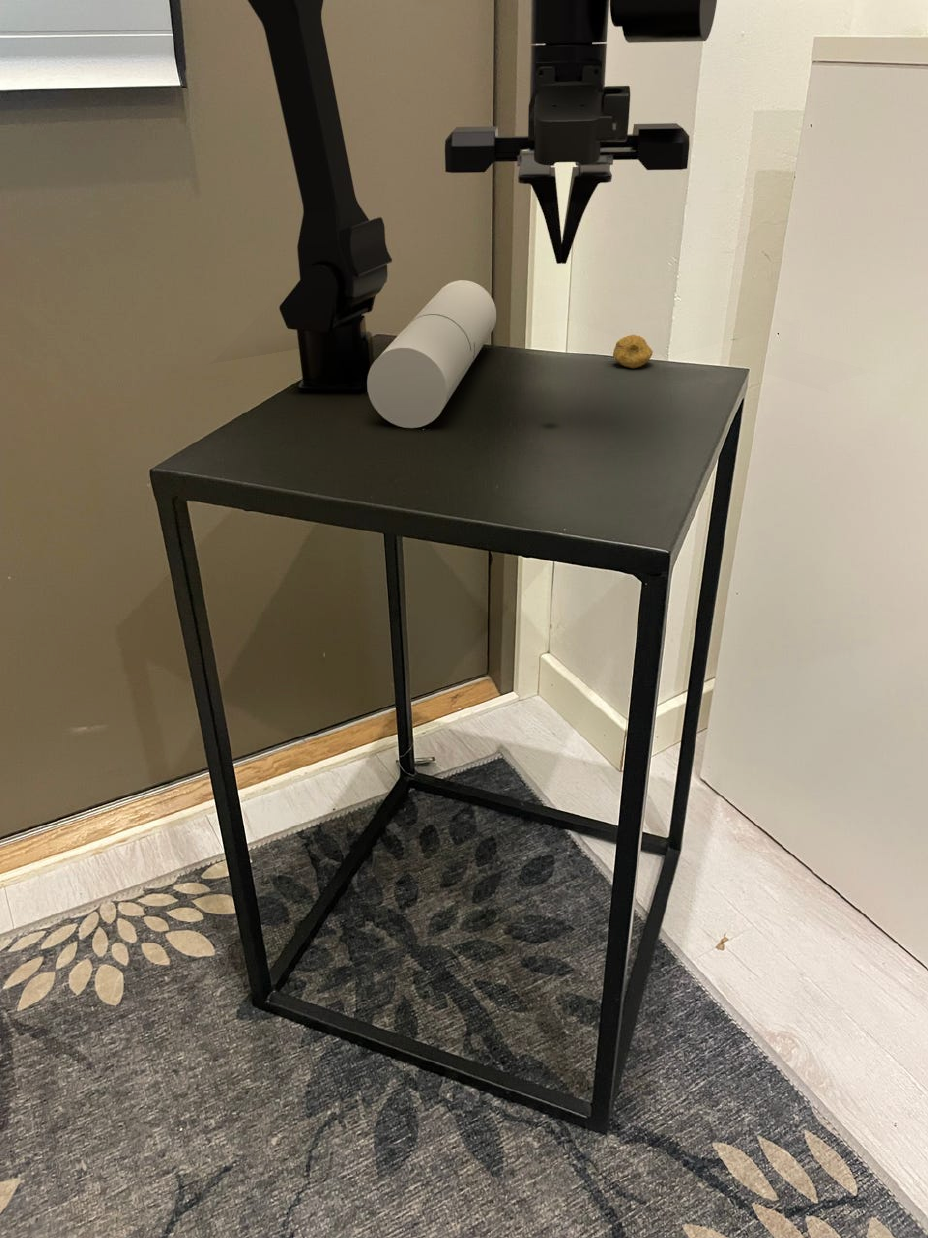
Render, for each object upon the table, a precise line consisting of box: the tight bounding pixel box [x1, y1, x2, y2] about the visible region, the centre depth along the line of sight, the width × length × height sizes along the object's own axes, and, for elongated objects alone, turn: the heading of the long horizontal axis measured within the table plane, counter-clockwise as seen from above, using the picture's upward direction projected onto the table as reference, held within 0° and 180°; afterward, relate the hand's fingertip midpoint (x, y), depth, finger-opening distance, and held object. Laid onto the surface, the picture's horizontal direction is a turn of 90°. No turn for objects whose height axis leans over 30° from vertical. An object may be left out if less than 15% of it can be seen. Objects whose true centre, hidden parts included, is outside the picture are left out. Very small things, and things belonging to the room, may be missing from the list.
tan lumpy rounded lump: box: [612, 334, 654, 369], centre depth 95 cm, size 4×4×3 cm
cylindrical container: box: [366, 279, 497, 429], centre depth 90 cm, size 7×7×25 cm
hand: (561, 262), depth 77 cm, fingers closed
